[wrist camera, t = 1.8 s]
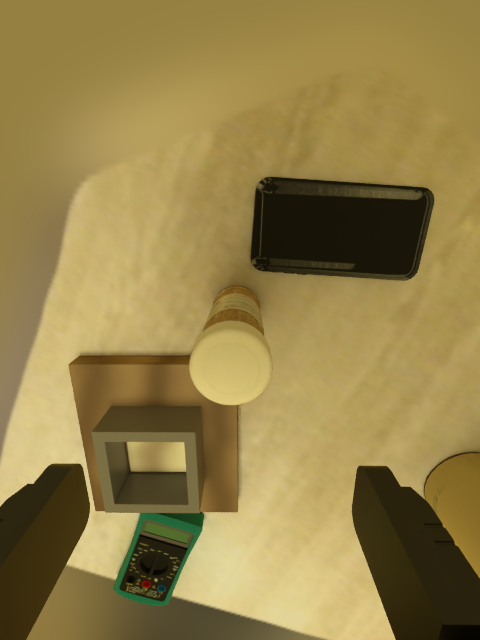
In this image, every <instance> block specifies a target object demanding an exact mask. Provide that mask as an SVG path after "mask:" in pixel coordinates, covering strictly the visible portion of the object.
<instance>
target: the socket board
mask: <svg viewBox="0 0 480 640" xmlns="http://www.w3.org/2000/svg"><path fill="white" fill-rule="evenodd" d="M190 357H191V356H79V357H78V358H76V359H75V360H74V361H72V362H71V363H70V364H68V365H69V370H70V376H71V381H72V386H73V392H74V397H75V403H76V408H77V413H78V419H79V424H80V430H81V435H82V440H83V446H84V451H85V457H86V462H87V467H88V473H89V478H90V484H91V489H92V494H93V500H94V505H95V511H105V508H104V502H103V496H102V490H101V484H100V479H99V473H98V467H97V461H96V456H95V450H94V444H93V438H92V433H91V432H92V431H93V429H94V428H95V427H96V425H97V424H98V423H99V421H100V420H101V419H102V417H103V416H104V415H105V413H106V412H107V411H108V409H109V408H110V407H111V406H202V427H203V448H204V469H205V483H204V489H203V496H202V502H201V508H200V512H238V414H237V405H223V404H219V403H216V402H213V401H211V400H209V399H208V398H206V397H205V396H204V395H202V394H201V393H200V392H199V391H198V389H197V388H196V387H195V385H194V383H193V381H192V379H191V376H190V371H189V362H190ZM126 446H127V453H128V461H129V468H130V472H186V460H185V446H184V442H126Z"/></svg>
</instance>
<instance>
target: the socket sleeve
mask: <svg viewBox="0 0 480 640" xmlns="http://www.w3.org/2000/svg"><path fill="white" fill-rule="evenodd" d="M91 433H92V438H93V444H94V450H95V456H96V461H97V467H98V473H99V479H100V484H101V490H102V496H103V502H104V508H105V512H115V513H200V508H201V502H202V496H203V489H204V483H205V469H204V448H203V427H202V406H111V407H110V408H109V409H108V411H107V412H106V413H105V415H104V416H103V417H102V419H101V420H100V421H99V423H98V424H97V425H96V427H95V428H94V429H93V431H92V432H91ZM126 442H184V446H185V460H186V472H130V468H129V461H128V453H127V446H126Z"/></svg>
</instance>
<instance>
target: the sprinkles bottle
mask: <svg viewBox="0 0 480 640" xmlns="http://www.w3.org/2000/svg"><path fill="white" fill-rule="evenodd" d="M189 371H190V376H191V379H192V381H193V383H194V385H195V387H196V388H197V389H198V391H199V392H200V393H201V394H202V395H204V396H205V397H206V398H208V399H209V400H211V401H213V402H216V403H219V404H223V405H239V404H243V403H246V402H249V401H251V400H253V399H255V398H256V397H257V396H259V395H260V394H261V393H262V392H263V391H264V390H265V388H266V387H267V385H268V383H269V381H270V378H271V375H272V358H271V353H270V348H269V345H268V343H267V341H266V339H265V337H264V328H263V322H262V317H261V313H260V306H259V302H258V300H257V298H256V296H255V294H253V293H252V292H251V291H250V290H248V289H246V288H244V287H240V286H233V287H229V288H226V289H224V290H223V291H221V292H220V293H219V295H218V296H217V297H216V299H215V301H214V305H213V307H212V309H211V312H210V314H209V316H208V319H207V321H206V324H205V326H204V329H203V332H202V333H201V335H200V336H199V337H198V339H197V341H196V343H195V345H194V348H193V350H192V353H191V357H190V362H189Z"/></svg>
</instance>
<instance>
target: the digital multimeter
mask: <svg viewBox="0 0 480 640" xmlns="http://www.w3.org/2000/svg"><path fill="white" fill-rule="evenodd" d="M203 519H204V515H203V514H201V513H141V514H140V518H139V521H138V524H137V527H136V531H135V534H134V537H133V540H132V543H131V546H130V548H129V550H128V553H127V555H126V558H125V560H124V562H123V565H122V567H121V569H120V571H119V573H118V576H117V579H116V582H115V584H114V587H113V588H114V590H115V591H116V593H117V594H119V595H121V596H123V597H125V598H128V599H130V600H133V601H136V602H140V603H144V604H149V605H157V606H163V605H166V604H168V603H169V601H170V598H171V596H172V593H173V590H174V588H175V585H176V583H177V580H178V578H179V576H180V573H181V571H182V569H183V567H184V564H185V562H186V560H187V558H188V556H189V554H190V552H191V550H192V548H193V547H194V545H195V543H196V541H197V539H198V537H199V535H200V534H201V532H202V526H203ZM125 571H126V572H125Z"/></svg>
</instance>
